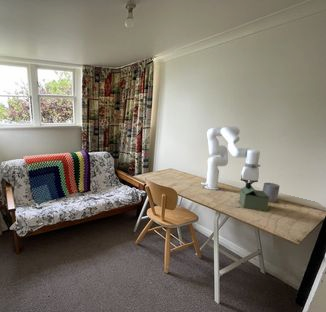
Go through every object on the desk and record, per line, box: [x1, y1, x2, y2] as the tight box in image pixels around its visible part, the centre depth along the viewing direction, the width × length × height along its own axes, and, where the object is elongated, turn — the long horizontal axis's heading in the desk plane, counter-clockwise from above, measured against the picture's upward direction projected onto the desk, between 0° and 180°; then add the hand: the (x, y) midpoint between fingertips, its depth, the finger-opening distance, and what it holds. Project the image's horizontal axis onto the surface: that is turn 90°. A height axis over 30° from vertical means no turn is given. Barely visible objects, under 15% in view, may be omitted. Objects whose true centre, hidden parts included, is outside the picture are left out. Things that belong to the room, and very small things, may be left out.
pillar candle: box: [262, 182, 281, 203], centre depth 158 cm, size 10×10×15 cm
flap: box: [240, 185, 256, 194], centre depth 149 cm, size 7×13×1 cm
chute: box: [238, 188, 270, 212], centre depth 149 cm, size 14×13×11 cm
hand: (247, 188), depth 149 cm, fingers closed
